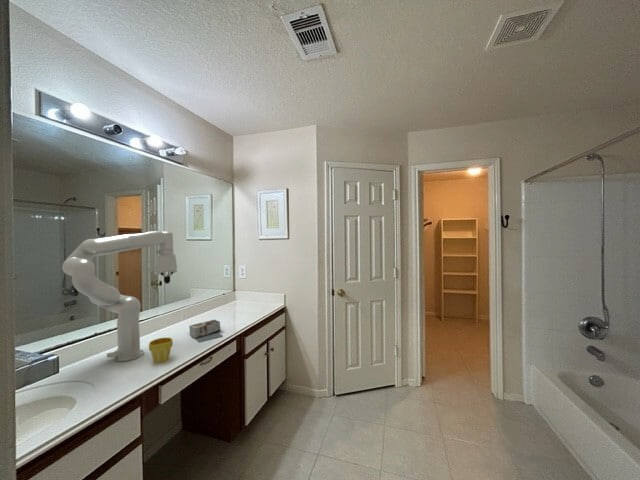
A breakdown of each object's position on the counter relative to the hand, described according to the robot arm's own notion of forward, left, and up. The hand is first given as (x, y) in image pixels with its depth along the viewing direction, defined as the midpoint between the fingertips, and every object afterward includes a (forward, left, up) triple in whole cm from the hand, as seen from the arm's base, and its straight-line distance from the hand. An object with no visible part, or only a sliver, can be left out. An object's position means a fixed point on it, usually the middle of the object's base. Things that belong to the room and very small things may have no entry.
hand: (167, 283), depth 160 cm
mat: (+20, -4, -35) cm, 41 cm away
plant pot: (-8, -25, -35) cm, 44 cm away
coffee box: (+12, -3, -31) cm, 34 cm away
